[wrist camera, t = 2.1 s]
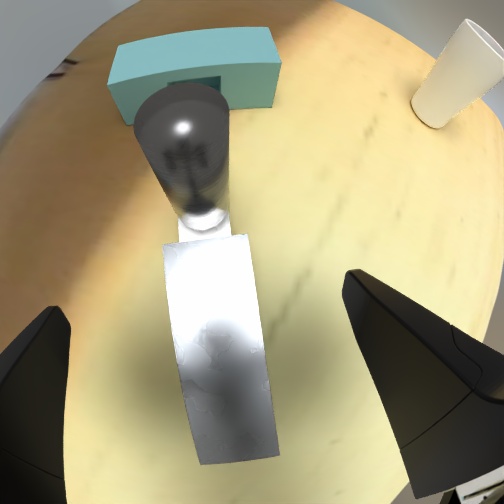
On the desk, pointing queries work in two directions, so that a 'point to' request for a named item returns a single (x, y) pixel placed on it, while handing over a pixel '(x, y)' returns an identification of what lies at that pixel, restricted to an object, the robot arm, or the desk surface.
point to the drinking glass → (459, 75)
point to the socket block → (198, 67)
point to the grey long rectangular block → (220, 349)
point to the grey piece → (189, 155)
